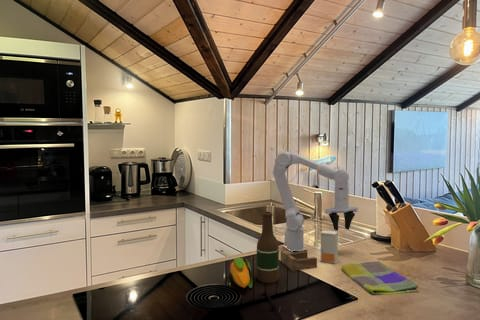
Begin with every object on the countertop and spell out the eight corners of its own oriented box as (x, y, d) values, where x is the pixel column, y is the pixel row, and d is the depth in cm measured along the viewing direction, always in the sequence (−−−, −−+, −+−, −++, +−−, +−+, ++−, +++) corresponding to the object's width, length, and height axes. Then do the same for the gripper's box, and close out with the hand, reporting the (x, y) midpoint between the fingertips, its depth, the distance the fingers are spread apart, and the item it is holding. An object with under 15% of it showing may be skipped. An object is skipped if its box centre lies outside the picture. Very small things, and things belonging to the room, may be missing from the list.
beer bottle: (283, 278, 130) (282, 211, 128) (269, 285, 124) (269, 215, 123) (266, 273, 135) (265, 209, 134) (252, 279, 129) (251, 212, 128)
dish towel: (369, 297, 115) (369, 288, 115) (339, 269, 139) (339, 262, 139) (421, 293, 117) (421, 285, 117) (382, 267, 141) (382, 260, 141)
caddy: (280, 261, 148) (280, 250, 148) (304, 258, 151) (304, 247, 151) (293, 271, 137) (293, 259, 136) (318, 268, 139) (318, 256, 139)
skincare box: (320, 261, 147) (320, 232, 146) (323, 258, 151) (323, 229, 150) (335, 264, 144) (335, 234, 143) (338, 260, 148) (337, 231, 147)
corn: (247, 251, 137) (256, 270, 117) (249, 271, 137) (258, 294, 117) (227, 254, 136) (233, 274, 116) (229, 274, 136) (235, 297, 116)
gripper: (331, 200, 150) (331, 233, 150) (361, 198, 154) (361, 230, 155) (322, 197, 156) (322, 229, 157) (352, 195, 161) (352, 226, 161)
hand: (341, 229), depth 156 cm, fingers open, 5 cm apart
